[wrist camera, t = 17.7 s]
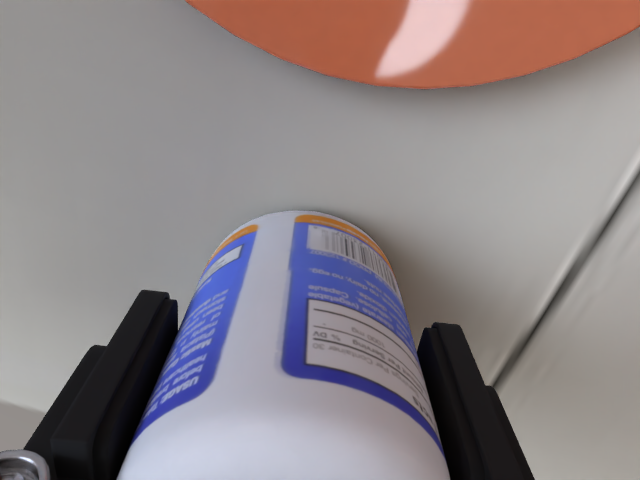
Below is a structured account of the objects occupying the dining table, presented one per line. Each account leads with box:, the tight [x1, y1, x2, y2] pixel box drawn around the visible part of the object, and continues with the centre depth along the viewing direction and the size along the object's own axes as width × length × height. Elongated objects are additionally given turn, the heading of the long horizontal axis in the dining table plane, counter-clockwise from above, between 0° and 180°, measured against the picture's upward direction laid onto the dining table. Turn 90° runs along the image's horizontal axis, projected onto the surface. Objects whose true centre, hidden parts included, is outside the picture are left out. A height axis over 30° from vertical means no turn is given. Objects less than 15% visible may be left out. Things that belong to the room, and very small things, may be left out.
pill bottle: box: [116, 210, 450, 480], centre depth 9 cm, size 5×5×10 cm
